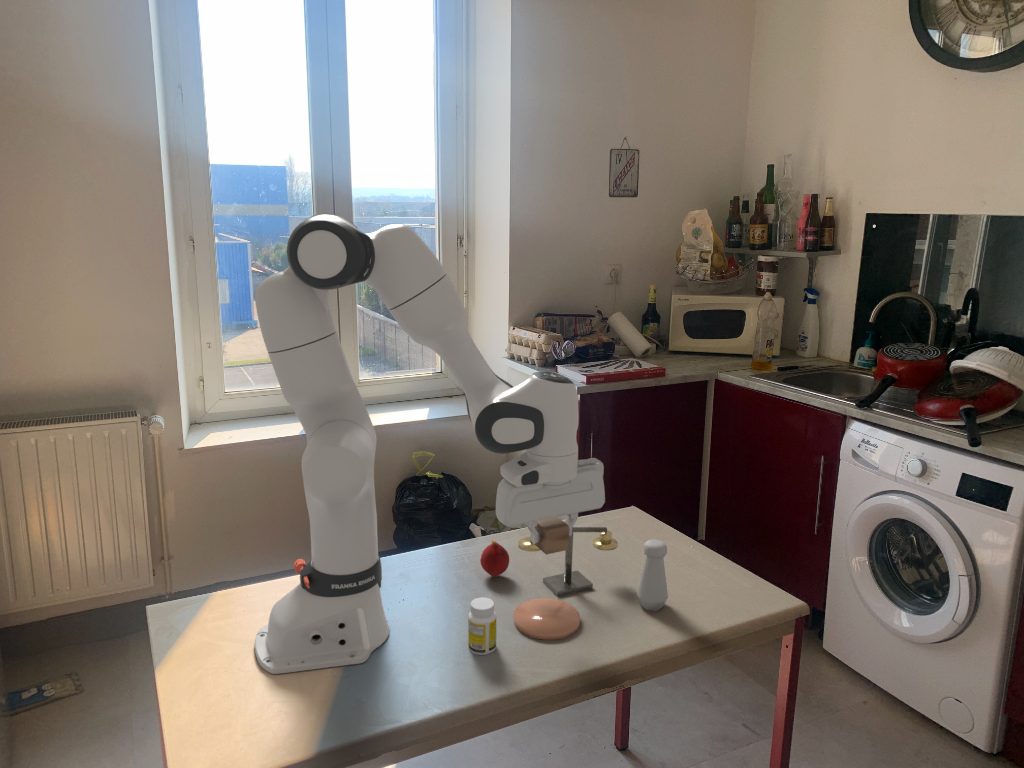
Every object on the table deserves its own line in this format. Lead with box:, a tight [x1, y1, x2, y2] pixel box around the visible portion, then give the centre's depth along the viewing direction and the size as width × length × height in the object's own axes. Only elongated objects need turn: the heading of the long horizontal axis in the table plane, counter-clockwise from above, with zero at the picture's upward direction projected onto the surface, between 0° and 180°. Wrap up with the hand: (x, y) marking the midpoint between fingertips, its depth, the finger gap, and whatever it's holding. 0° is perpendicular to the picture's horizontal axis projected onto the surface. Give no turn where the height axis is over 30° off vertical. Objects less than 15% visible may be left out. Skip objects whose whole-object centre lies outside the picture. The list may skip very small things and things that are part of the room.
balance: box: [517, 526, 619, 597], centre depth 145 cm, size 22×6×14 cm, turn 115°
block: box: [534, 517, 569, 555], centre depth 130 cm, size 4×4×4 cm
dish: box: [513, 597, 581, 641], centre depth 134 cm, size 12×12×1 cm
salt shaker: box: [636, 539, 669, 612], centre depth 139 cm, size 6×6×13 cm
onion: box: [479, 539, 510, 578], centre depth 149 cm, size 6×6×8 cm
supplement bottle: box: [467, 596, 497, 656], centre depth 125 cm, size 5×5×8 cm
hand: (551, 538), depth 130 cm, fingers closed on block, 4 cm apart
